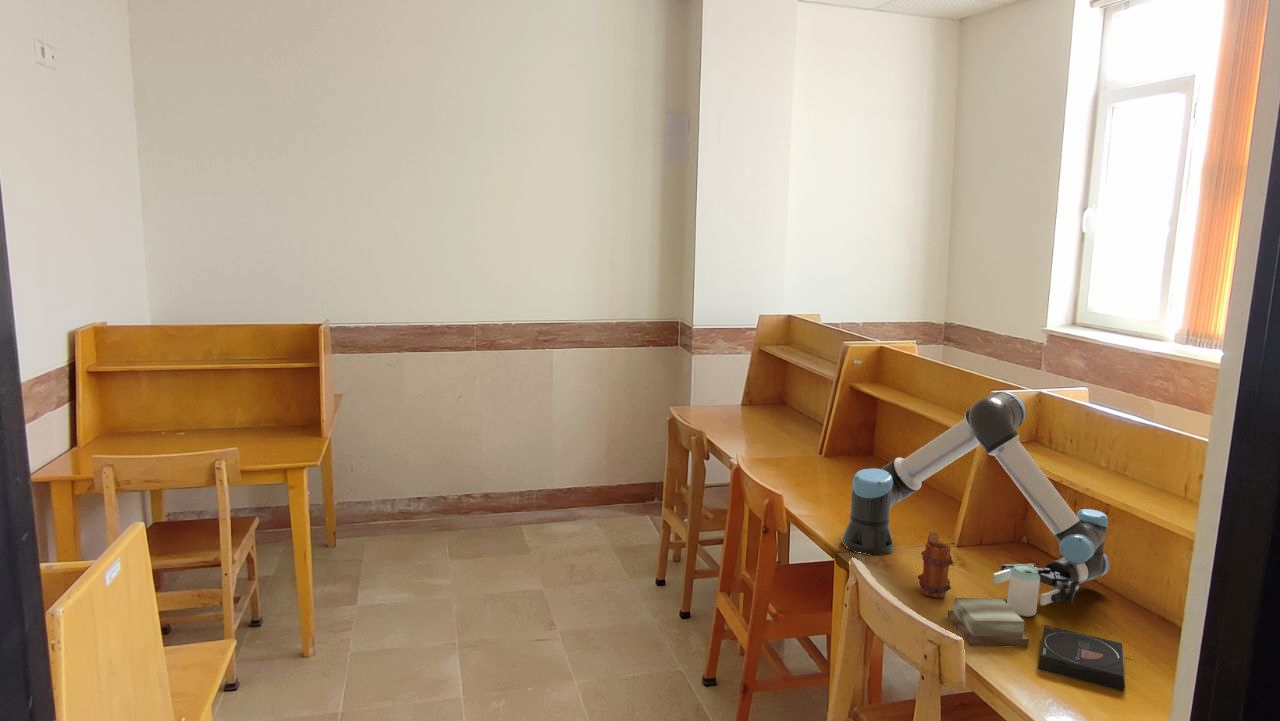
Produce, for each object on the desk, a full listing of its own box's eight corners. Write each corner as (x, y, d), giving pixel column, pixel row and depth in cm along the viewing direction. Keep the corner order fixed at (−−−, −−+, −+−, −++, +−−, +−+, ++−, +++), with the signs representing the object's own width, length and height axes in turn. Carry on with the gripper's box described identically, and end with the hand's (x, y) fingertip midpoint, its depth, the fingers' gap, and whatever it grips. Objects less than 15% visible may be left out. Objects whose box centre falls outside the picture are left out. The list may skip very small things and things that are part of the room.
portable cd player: (1124, 693, 178) (1126, 676, 178) (1037, 671, 186) (1039, 654, 186) (1122, 659, 193) (1125, 643, 192) (1042, 639, 201) (1044, 624, 200)
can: (1041, 614, 213) (1046, 570, 211) (1025, 620, 209) (1030, 576, 207) (1016, 603, 219) (1021, 560, 217) (1000, 609, 215) (1005, 566, 213)
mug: (951, 603, 217) (957, 550, 215) (919, 600, 219) (924, 546, 216) (943, 580, 232) (948, 529, 229) (913, 577, 233) (917, 526, 231)
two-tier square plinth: (947, 617, 210) (949, 595, 209) (1001, 618, 210) (1003, 596, 209) (970, 645, 196) (972, 622, 195) (1028, 646, 196) (1030, 623, 195)
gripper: (1110, 604, 212) (1061, 623, 201) (1022, 568, 233) (974, 584, 222) (1113, 577, 211) (1065, 595, 200) (1025, 543, 232) (977, 557, 221)
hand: (1017, 589), depth 211 cm, fingers open, 13 cm apart
